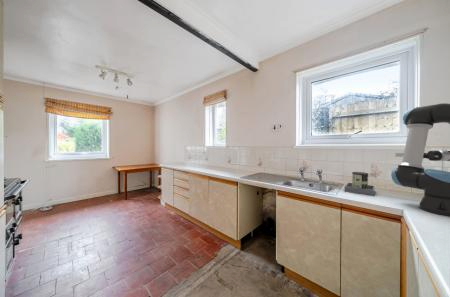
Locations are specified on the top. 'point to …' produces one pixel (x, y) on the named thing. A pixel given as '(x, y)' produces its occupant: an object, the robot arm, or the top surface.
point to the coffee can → (360, 180)
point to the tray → (360, 189)
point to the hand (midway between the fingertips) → (401, 155)
